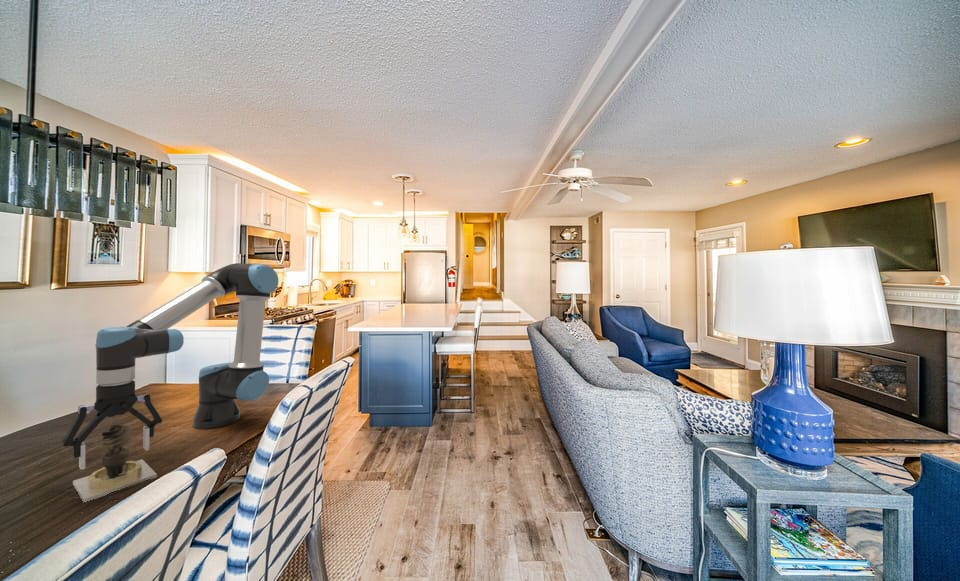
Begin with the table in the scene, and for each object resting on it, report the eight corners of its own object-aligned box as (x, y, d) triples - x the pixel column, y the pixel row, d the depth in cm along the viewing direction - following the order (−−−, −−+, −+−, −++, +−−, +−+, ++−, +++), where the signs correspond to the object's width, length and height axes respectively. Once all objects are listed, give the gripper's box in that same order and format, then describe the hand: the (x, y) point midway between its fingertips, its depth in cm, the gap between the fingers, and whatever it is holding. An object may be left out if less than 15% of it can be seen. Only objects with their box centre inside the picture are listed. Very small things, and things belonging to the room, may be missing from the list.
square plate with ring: (142, 462, 106) (142, 453, 106) (156, 477, 98) (156, 467, 98) (72, 484, 94) (72, 473, 94) (83, 503, 86) (83, 491, 86)
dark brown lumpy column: (112, 472, 98) (111, 421, 98) (135, 470, 100) (135, 420, 99) (96, 484, 93) (96, 430, 92) (121, 481, 94) (121, 428, 94)
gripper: (167, 371, 108) (167, 438, 108) (45, 390, 87) (45, 472, 88) (176, 375, 104) (175, 444, 104) (49, 396, 83) (49, 482, 84)
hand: (115, 457), depth 96 cm, fingers open, 12 cm apart
